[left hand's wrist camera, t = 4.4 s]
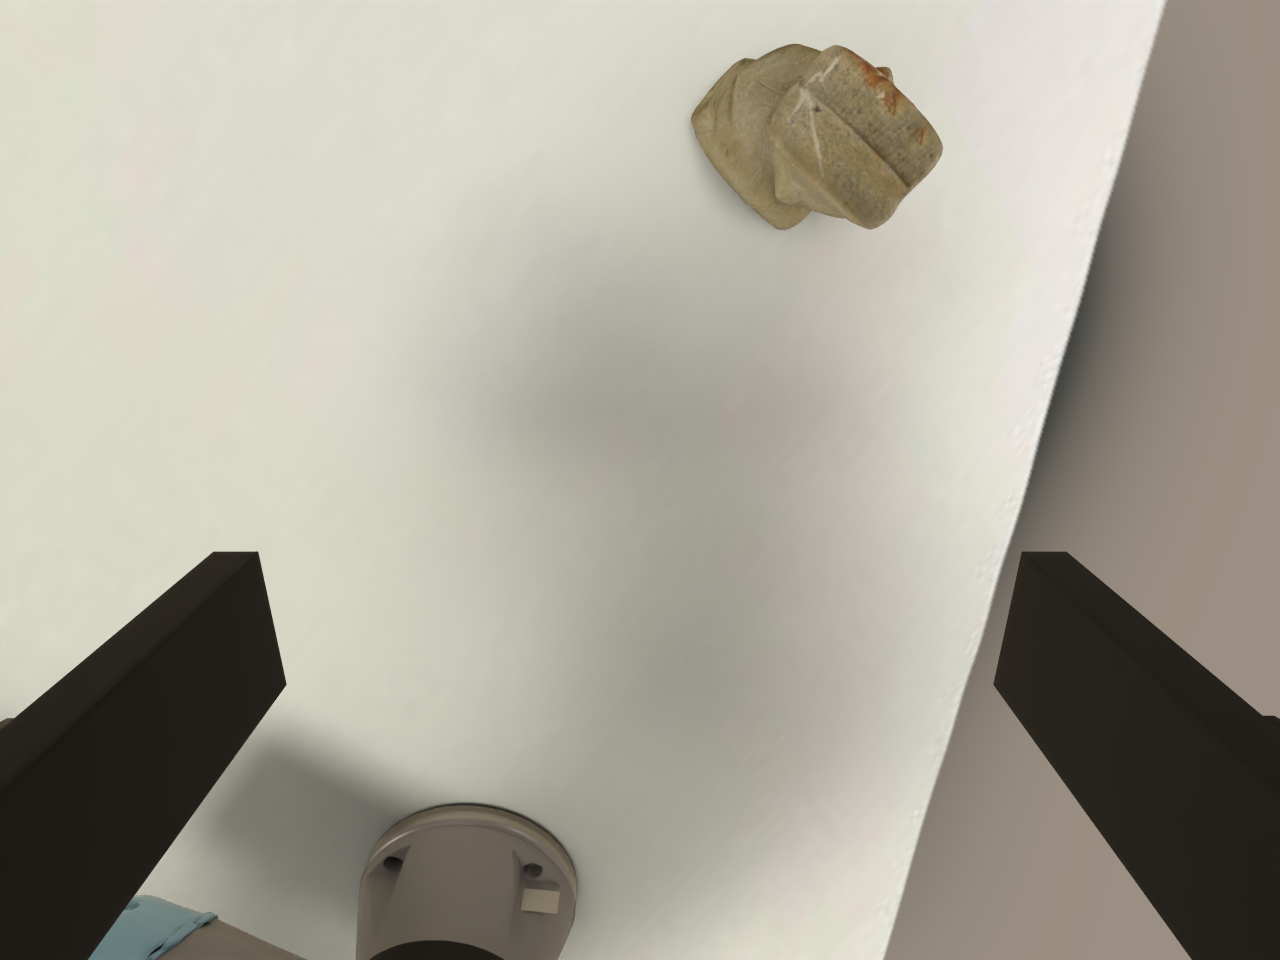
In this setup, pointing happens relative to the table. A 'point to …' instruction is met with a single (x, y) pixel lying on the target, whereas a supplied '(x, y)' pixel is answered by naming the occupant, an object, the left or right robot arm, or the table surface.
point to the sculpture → (815, 136)
